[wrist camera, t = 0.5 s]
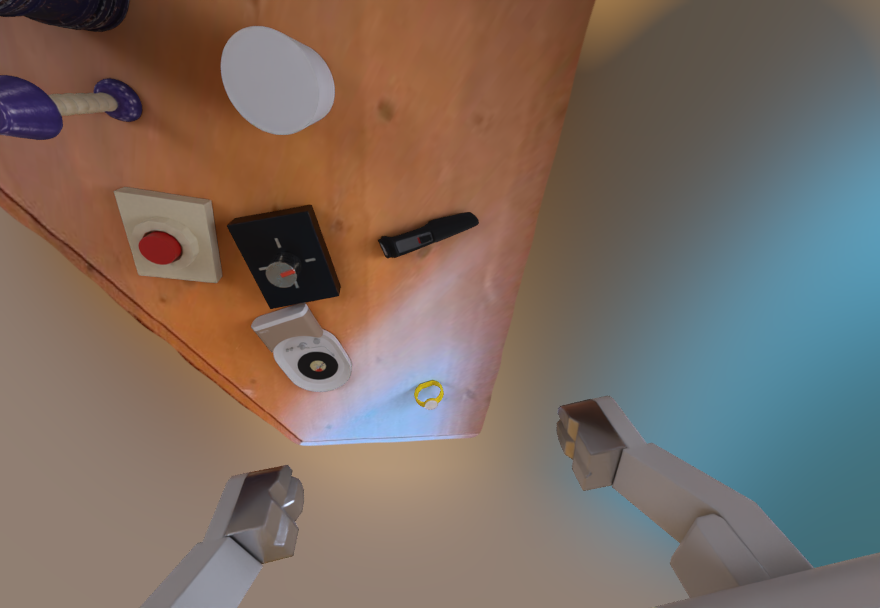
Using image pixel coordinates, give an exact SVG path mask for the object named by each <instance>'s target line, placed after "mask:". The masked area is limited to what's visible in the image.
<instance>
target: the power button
mask: <svg viewBox="0 0 880 608" xmlns="http://www.w3.org/2000/svg"><path fill="white" fill-rule="evenodd" d="M138 246H139V250H140V252H141V254H142V255H143V256H144V257H145V258H146V259H147V260H149V261H151V262H153V263H155V264H160V265H166V264H170V263H171V262H173V261H174V260H175V259H176V258H177V257H179V256H180V254H181V245H180V243H179V242H178V241H177V240H176V239H175V238H174V237H173V236H171V235H170V234H168V233H165V232H159V231H158V232H152V233H150V234H149V235H147V236H145V237H144V238H142V239H141V240H140V242H139V245H138Z"/></svg>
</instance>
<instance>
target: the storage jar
mask: <svg viewBox="0 0 880 608" xmlns="http://www.w3.org/2000/svg"><path fill="white" fill-rule="evenodd" d="M128 6H129V0H0V16H3V17H15V16H25V17H28V18H30V19H32V20H35V21H38V22H41V23H44V24H48V25H54V26H58V27H63V28H69V29H76V30H88V31H94V32H103V31H107V30H111V29H113V28H115V27H117V26H118V25H119V24H120V23H121V22H122V21H123V19H124V18H125V16H126V13H127V11H128Z"/></svg>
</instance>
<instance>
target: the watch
mask: <svg viewBox="0 0 880 608" xmlns="http://www.w3.org/2000/svg"><path fill="white" fill-rule="evenodd" d="M432 385H435V386H438V387H439V388H440V389H441V391H440V394H439V396H438V397H437V398H436V399H435V398H429V399H427V400H426V401H425V402H421V401H420V400H418V398H417V397H418V394H419V392H420V391H421V390H422V389H423V388H426V387H429V386H432ZM443 395H444V392H443V388H442V385H441V384H440V383H439V382H437V381H434V380H431V381H428V382H426V383H422V384H419V386H418V387H417V388H416V389H415V393H414V396H415V399H416V402H417V403H418V404H419V405H420V406H422V407H425V408H426V409H428V410H432V409H435V408H436V407H437V406H438V403H439V402H440V401H441V400H442V398H443Z"/></svg>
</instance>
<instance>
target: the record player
mask: <svg viewBox="0 0 880 608" xmlns="http://www.w3.org/2000/svg"><path fill="white" fill-rule="evenodd" d="M251 328H252V329H253V330H254V331H255V333H256V334H257V335H258V336H259V337H260V339H261V340H262V341H263V342H264V344H265V345H266V346H267V347H268V349H269V350H270V351H271V352H273V350H274V352H273V354H274V358H275V361H276V362H277V364H278V365H279V366H280V367H281V369H282V370H283V371H284V372H285V374H286V375H287V376H288V377H289V378H290V380H291V381H292V382H293V383H294V384H295V385H297V386H299V387H300V388H303V389H305V390H308V391H314V392H327V391H332V390H335V389H337V388H339V387H341V386H343V385H344V384H345V383H346V382H347V381H348V379H349V378H350V375H351V368H352V365H351V361H350V359H349V357H348V355H347V354H346V352H345V350H344V349H343V347H342V346H341V344H340V343H339V341H338V340H337V338H336V337H335V336H334V335H333V334H331V333H330V332H328V331H326V330H324V329H322V328H321V326H320V325H319V323H318V322H317V320H316V319H315V317H314V316H313V314H312V312H311V311H310V309H309V308H308V306H307V305H306V303H299V304H296V305H293V306H290V307H287V308H284V309H281V310H278V311H275V312H271V313H268V314H265V315H262V316H259V317H257V318H256V319H255V320H254V321H253V323H252V325H251Z"/></svg>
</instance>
